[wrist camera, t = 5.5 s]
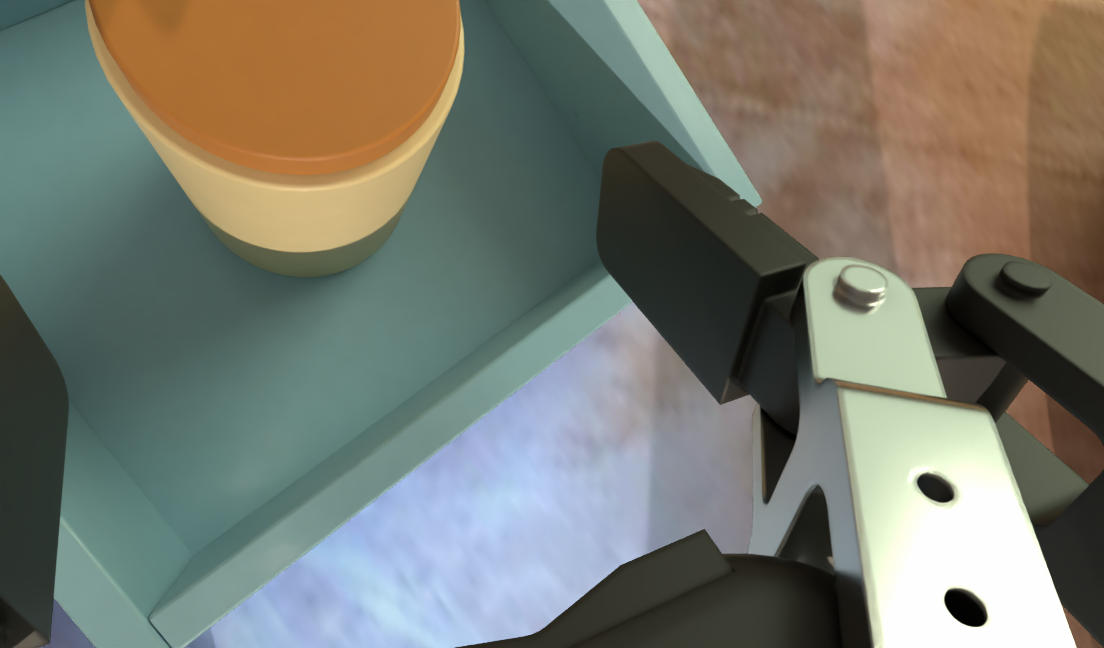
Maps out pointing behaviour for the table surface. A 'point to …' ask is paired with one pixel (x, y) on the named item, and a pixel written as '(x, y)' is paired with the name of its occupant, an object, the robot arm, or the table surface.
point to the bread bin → (304, 302)
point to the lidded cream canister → (287, 113)
